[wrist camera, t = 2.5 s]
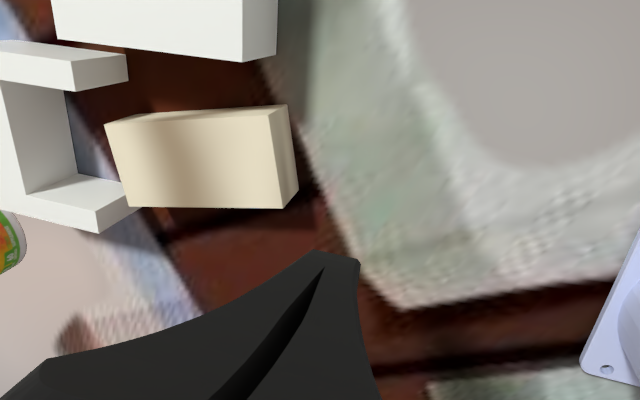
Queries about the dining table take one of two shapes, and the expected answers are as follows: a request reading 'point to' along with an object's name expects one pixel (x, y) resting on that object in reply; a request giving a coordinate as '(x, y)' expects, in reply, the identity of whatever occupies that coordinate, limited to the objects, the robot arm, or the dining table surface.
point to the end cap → (53, 135)
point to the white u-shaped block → (174, 26)
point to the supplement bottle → (11, 241)
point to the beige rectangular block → (206, 158)
